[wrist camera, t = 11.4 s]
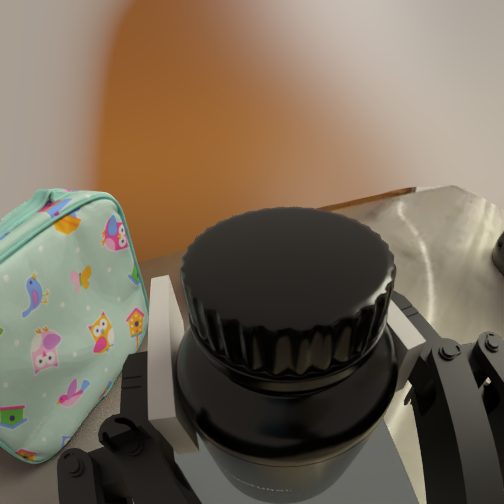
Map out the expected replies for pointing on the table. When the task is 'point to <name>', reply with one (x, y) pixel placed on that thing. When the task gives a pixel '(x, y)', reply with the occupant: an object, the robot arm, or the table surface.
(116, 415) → the robot arm
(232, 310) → the supplement bottle
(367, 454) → the slate mat
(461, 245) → the table surface
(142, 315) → the lunch box
